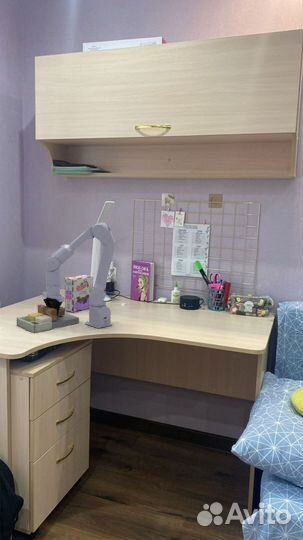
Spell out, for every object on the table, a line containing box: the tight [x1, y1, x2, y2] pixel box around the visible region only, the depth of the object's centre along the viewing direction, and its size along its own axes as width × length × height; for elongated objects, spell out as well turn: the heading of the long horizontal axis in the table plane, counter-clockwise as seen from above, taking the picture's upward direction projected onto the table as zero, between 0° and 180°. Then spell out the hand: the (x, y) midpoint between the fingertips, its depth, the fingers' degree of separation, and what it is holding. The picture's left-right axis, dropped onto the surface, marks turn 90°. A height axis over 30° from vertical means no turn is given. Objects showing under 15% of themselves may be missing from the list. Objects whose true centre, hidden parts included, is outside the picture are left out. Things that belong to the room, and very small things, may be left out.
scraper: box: [37, 304, 66, 321], centre depth 186 cm, size 12×9×4 cm
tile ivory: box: [35, 315, 52, 324], centre depth 179 cm, size 5×5×2 cm
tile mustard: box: [27, 311, 44, 321], centre depth 183 cm, size 5×5×2 cm
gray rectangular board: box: [16, 312, 80, 334], centre depth 185 cm, size 15×22×3 cm
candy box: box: [64, 274, 94, 314], centre depth 210 cm, size 14×6×16 cm, turn 143°
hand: (53, 315), depth 186 cm, fingers closed on scraper, 3 cm apart
